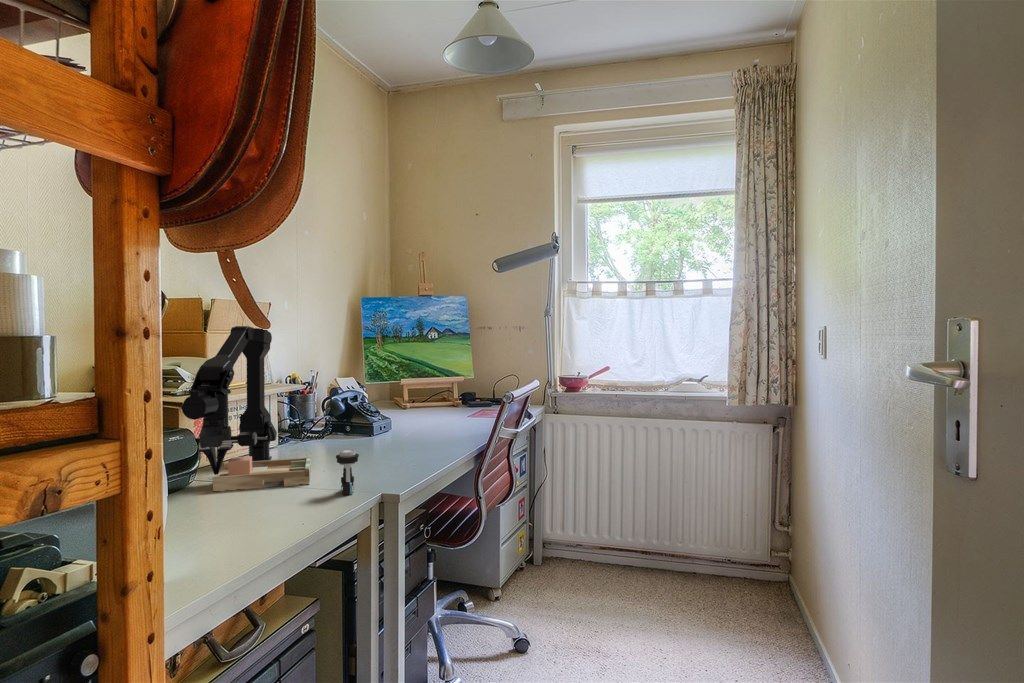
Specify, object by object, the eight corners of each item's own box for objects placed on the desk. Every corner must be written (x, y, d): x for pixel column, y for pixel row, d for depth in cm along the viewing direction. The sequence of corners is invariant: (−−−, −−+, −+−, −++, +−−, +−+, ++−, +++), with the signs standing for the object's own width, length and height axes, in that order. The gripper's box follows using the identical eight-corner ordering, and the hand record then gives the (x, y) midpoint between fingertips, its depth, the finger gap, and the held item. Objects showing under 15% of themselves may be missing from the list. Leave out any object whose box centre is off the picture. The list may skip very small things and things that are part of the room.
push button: (335, 489, 142) (334, 448, 142) (357, 487, 144) (357, 447, 144) (336, 496, 136) (336, 454, 135) (360, 494, 138) (359, 452, 137)
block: (231, 472, 150) (231, 457, 150) (252, 471, 152) (252, 456, 152) (228, 477, 146) (228, 461, 146) (249, 475, 147) (249, 460, 147)
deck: (224, 476, 155) (224, 461, 155) (310, 469, 162) (310, 455, 162) (213, 492, 140) (213, 475, 140) (309, 484, 146) (309, 468, 146)
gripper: (165, 420, 136) (166, 485, 137) (251, 416, 142) (252, 479, 142) (177, 413, 147) (178, 474, 147) (257, 410, 153) (257, 468, 153)
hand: (216, 474), depth 147 cm, fingers closed
